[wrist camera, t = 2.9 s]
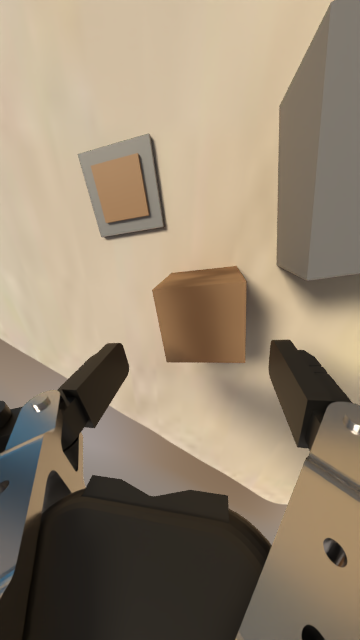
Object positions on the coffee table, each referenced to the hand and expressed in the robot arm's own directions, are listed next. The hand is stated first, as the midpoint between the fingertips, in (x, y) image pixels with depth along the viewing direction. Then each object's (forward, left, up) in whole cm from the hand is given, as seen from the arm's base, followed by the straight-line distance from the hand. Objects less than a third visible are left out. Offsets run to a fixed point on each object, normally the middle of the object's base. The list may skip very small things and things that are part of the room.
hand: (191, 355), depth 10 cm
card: (+6, -10, -9) cm, 15 cm away
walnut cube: (0, 0, -9) cm, 9 cm away
